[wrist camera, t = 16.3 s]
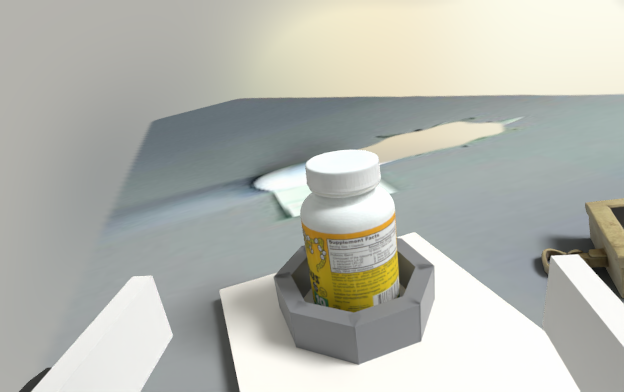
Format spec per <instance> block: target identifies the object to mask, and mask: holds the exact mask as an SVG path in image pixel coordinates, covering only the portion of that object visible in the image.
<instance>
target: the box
mask: <svg viewBox="0 0 624 392" xmlns="http://www.w3.org/2000/svg"><path fill="white" fill-rule="evenodd" d="M585 208H586V212H587V214H588V216H589V227H590V238H591V240H592V242H593V244H594V246H595V248H596V249H591V250H589V252H588V253H583V252H582V251H581V250H578V249H576V250H571V251H569V252H568V253H565V252H562V251H559V250H555V249H550V248H548V249H545V250H544V251H543V253H542V262H543V266H544V270H545V272H546V273H548V274H549V266H550V265H549V264H548V263H547V259H548V258H550V257H551V256H556V255H575V254H578V255H579V256H580V257H581V258H582V259H583V260H584V261H585V262H586V263H587V265H588V266H589V267H590V268H594V267H606V269H607V271H608V273H609V275H610V277H611V279H612V281H613V282H614V284H615V286H616V288H617V290H618V292H619V294H620V295H621V297H622V298H624V198H623V199H614V200H605V201H596V202H588V203H585Z"/></svg>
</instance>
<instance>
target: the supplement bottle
mask: <svg viewBox="0 0 624 392" xmlns="http://www.w3.org/2000/svg"><path fill="white" fill-rule="evenodd" d="M305 167H306V177H307V185H308V186H309V188H310V190H311V191H312V193H311V194H310V195H309V196H308V197H307V198H306V199H305V200H304V202H303V204H302V207H301V213H300V215H301V222H302V229H303V236H304V241H305V248H306V254H307V260H308V267H309V274H310V280H311V286H312V293H313V299H314V304H316V305H321V306H326V307H330V308H335V309H339V310H344V311H349V312H353V313H354V312H357V311H360V310H363V309H366V308H369V307H372V306H375V305H378V304H381V303H384V302H387V301H390V300H393V299H396V298H399V297H400V286H399V271H398V256H397V238H396V219H395V206H394V202H393V199H392V197H391V196H390V195H389V193H388V192H387V191H386V190H384V189H383V188H381V187H379V186H378V184H379V182H380V179H381V174H380V166H379V158H378V156H377V155H376V154H374V153H372V152H368V151H363V150H341V151H334V152H329V153H324V154H321V155H318V156H315V157H313V158H311V159H310V160H309V161H307V163H306V166H305Z"/></svg>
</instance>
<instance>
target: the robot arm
mask: <svg viewBox="0 0 624 392" xmlns="http://www.w3.org/2000/svg"><path fill="white" fill-rule="evenodd" d="M542 327H543V329H544V331H545V332H546V334H547V336H548V337H549V339H550V341H551V342H552V344H553V346H554V347H555V349H556V351H557V353H558V354H559V356H560V358H561V359H562V361H563V363H564V364H565V366H566V368H567V370H568V371H569V373H570V375H571V376H572V378H573V380H574V381H575V383H576V385H577V386H578V388H579V390H580V392H624V304H623V303H622V301H621V300H620V299H619V298H618V297H617V296H616V295H615V294H614V293H613V292H612V291H611V290H610V288H609V287H608V286H607V285H606V284H605V283H604V282H603V281H602V280H601V279H600V278H599V276H598V275H597V274H596V273H595V272H594V271H593V270H592V269H591V268H590V267H589V266H588V265H587V263H586V262H585V261H584V260H583V259H582V258H581V257H580V256H579V255H578V254H575V255H556V256H551V258H550V266H549V274H548V283H547V291H546V300H545V308H544V316H543V325H542ZM172 337H173V334H172V332H171V329H170V326H169V323H168V320H167V317H166V314H165V311H164V308H163V305H162V303H161V300H160V297H159V294H158V291H157V288H156V285H155V282H154V279H153V277H152V276H136V277H132V278H131V279H130V280H129V281H128V282H127V283H126V285H125V286H124V287H123V288H122V289H121V290H120V291H119V292H118V294H117V295H116V296H115V297H114V298H113V299H112V300H111V302H110V303H109V304H108V305H107V306H106V307H105V308H104V309H103V311H102V312H101V313H100V314H99V315H98V316H97V317H96V319H95V320H94V321H93V322H92V323H91V324H90V325H89V326H88V328H87V329H86V330H85V331H84V332H83V333H82V334H81V336H80V337H79V338H78V339H77V340H76V341H75V342H74V344H73V345H72V346H71V347H70V348H69V349H68V350H67V351H66V353H65V354H64V355H63V356H62V357H61V358H60V359H59V361H58V362H57V363H56V364H55V365H54V366H53V367H52V368H46V369H45V370H44V371H42V372H41V373H40V374H38V375H37V376H36V377H34V378H33V379H32V380H30V381H29V382H28V383H27V384H26V385H25V386H24V387H23V388H22V389H21V390H20V391H19V392H140V391H141V389H142V388H143V386H144V384H145V383H146V381H147V379H148V377H149V376H150V374H151V372H152V371H153V369H154V367H155V366H156V364H157V362H158V360H159V359H160V357H161V355H162V354H163V352H164V350H165V349H166V347H167V345H168V344H169V342H170V340H171V338H172Z"/></svg>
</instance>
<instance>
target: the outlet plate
mask: <svg viewBox="0 0 624 392" xmlns="http://www.w3.org/2000/svg"><path fill="white" fill-rule="evenodd" d="M397 256H398V271H399V286H400V297H399V298H396V299H393V300H390V301H387V302H384V303H381V304H378V305H375V306H372V307H369V308H366V309H363V310H360V311H357V312H354V313H353V312H349V311H344V310H339V309H335V308H330V307H326V306H321V305H316V304H314V299H313V293H312V286H311V280H310V274H309V267H308V260H307V254H306V248H305V245H304V246H301V247H300V248H299V250H298V251H297V252H296V253H295V254H294V255H293V256H292V257H291V258H290V259H289V261H288V262H287V263H286V264H285V265H284V266H283V267H282V268H281V269H280V270H279V271H278V273H274V274H271V275H268V276H264V277H261V278H258V279H254V280H251V281H247V282H244V283H241V284H237V285H234V286H230V287H227V288H224V289H220V290H219V291H220V296H221V301H222V306H223V311H224V315H225V320H226V325H227V330H228V335H229V340H230V345H231V350H232V355H233V360H234V365H235V370H236V375H237V379H238V384H239V389H240V392H580V390H579V388H578V386H577V385H576V383H575V381H574V380H573V378H572V376H571V375H570V373H569V371H568V370H567V368H566V366H565V364H564V363H563V361H562V359H561V358H560V356H559V354H558V353H557V351H556V349H555V347H554V346H553V344H552V342H551V341H550V339H549V337H548V336H547V334H546V332H545V331H543V330H542V329H541V328H539V327H538V326H537V325H536V324H534V323H533V322H532V321H530V320H529V319H528V318H526V317H525V316H524V315H522V314H521V313H520V312H519V311H517V310H516V309H515V308H513V307H512V306H511V305H509V304H508V303H507V302H505V301H504V300H503V299H502V298H500V297H499V296H498V295H496V294H495V293H494V292H492V291H491V290H490V289H488V288H487V287H486V286H485V285H483V284H482V283H481V282H479V281H478V280H477V279H475V278H474V277H473V276H471V275H470V274H469V273H467V272H466V271H465V270H464V269H462V268H461V267H460V266H458V265H457V264H456V263H454V262H453V261H452V260H450V259H449V258H448V257H447V256H445V255H444V254H443V253H441V252H440V251H439V250H437V249H436V248H435V247H433V246H432V245H431V244H430V243H428V242H427V241H426V240H424V239H423V238H422V237H420V236H419V235H418V234H416V233H415V232H414V233H410V234H407V235H403V236H400V237H397Z"/></svg>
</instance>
